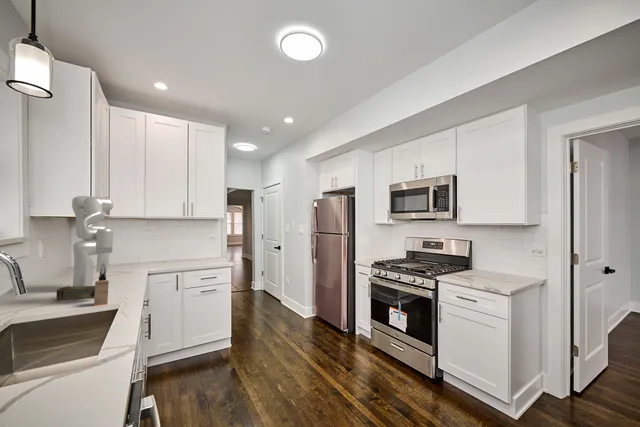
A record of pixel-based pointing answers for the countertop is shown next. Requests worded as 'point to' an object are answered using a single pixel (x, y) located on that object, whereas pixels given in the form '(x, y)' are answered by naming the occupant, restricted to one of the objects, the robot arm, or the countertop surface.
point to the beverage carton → (76, 292)
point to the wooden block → (101, 293)
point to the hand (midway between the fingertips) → (102, 283)
